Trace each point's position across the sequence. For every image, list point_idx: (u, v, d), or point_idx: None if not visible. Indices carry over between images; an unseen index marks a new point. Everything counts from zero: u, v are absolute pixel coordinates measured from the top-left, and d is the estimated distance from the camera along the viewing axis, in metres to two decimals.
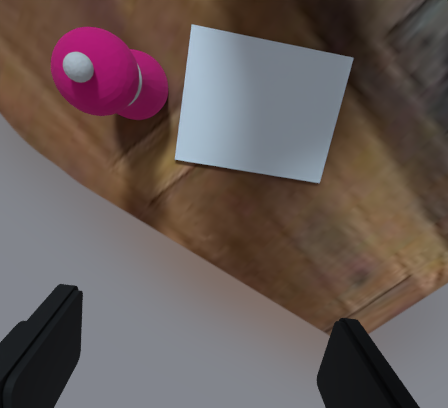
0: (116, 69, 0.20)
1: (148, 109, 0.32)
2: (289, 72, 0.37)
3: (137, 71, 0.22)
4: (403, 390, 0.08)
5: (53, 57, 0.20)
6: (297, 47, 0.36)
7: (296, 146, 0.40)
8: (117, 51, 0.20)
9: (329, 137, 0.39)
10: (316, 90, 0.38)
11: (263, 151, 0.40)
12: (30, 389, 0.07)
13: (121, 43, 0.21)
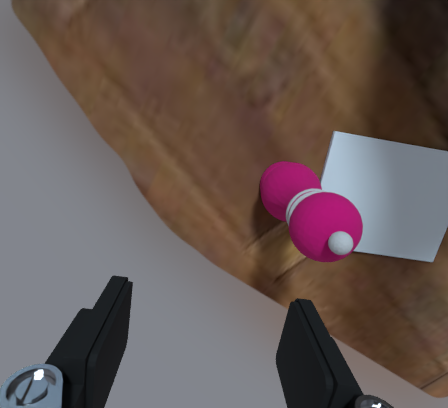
0: (358, 235, 0.24)
1: None
2: (417, 169, 0.40)
3: None
4: (338, 358, 0.09)
5: (306, 226, 0.24)
6: (427, 148, 0.39)
7: (416, 231, 0.43)
8: (359, 220, 0.24)
9: (446, 223, 0.43)
10: (440, 184, 0.41)
11: (385, 235, 0.43)
12: (103, 366, 0.08)
13: (356, 208, 0.24)
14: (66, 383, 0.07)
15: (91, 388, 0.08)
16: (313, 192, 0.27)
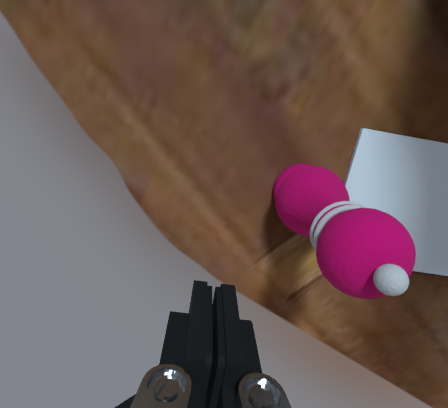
0: (411, 266, 0.18)
1: None
2: None
3: None
4: (237, 338, 0.09)
5: (343, 254, 0.18)
6: None
7: None
8: (413, 247, 0.18)
9: None
10: None
11: (417, 249, 0.37)
12: None
13: None
14: None
15: (205, 386, 0.08)
16: (346, 206, 0.21)
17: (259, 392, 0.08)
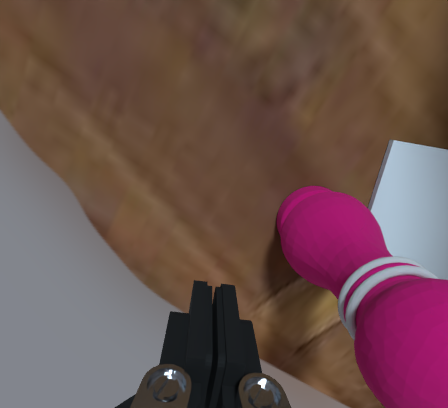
0: None
1: None
2: None
3: None
4: (237, 338, 0.09)
5: (413, 375, 0.10)
6: None
7: None
8: None
9: None
10: None
11: None
12: None
13: None
14: None
15: (205, 386, 0.08)
16: (398, 269, 0.14)
17: (259, 392, 0.08)
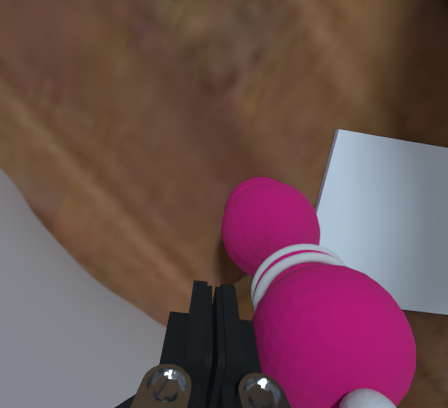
0: (410, 381, 0.10)
1: None
2: None
3: None
4: (237, 338, 0.09)
5: (284, 363, 0.10)
6: None
7: None
8: (412, 346, 0.10)
9: None
10: None
11: (414, 283, 0.29)
12: None
13: (400, 309, 0.11)
14: None
15: (205, 386, 0.08)
16: (302, 256, 0.13)
17: (259, 392, 0.08)
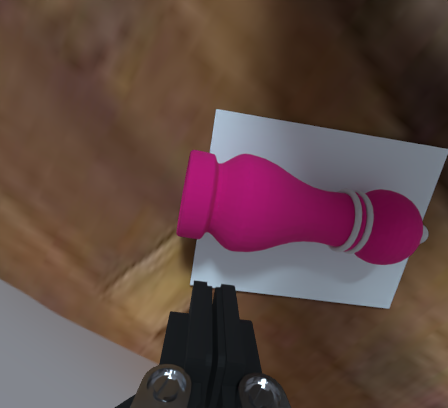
0: None
1: None
2: (356, 170, 0.25)
3: None
4: (237, 338, 0.09)
5: None
6: (369, 137, 0.25)
7: (360, 264, 0.28)
8: None
9: None
10: None
11: (314, 271, 0.28)
12: None
13: None
14: None
15: (205, 386, 0.08)
16: None
17: (259, 392, 0.08)
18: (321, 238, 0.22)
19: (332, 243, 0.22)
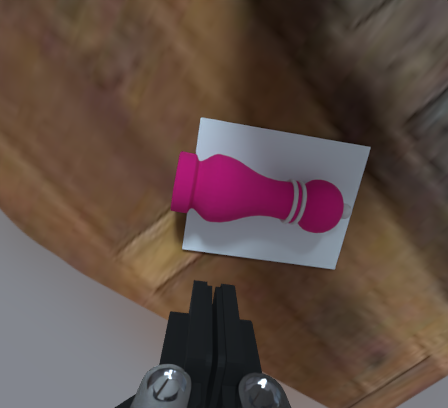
0: None
1: None
2: (303, 162, 0.35)
3: None
4: (237, 338, 0.09)
5: (342, 204, 0.31)
6: (312, 138, 0.34)
7: (310, 234, 0.37)
8: None
9: (345, 225, 0.37)
10: (332, 179, 0.36)
11: (276, 239, 0.37)
12: None
13: None
14: None
15: (205, 386, 0.08)
16: (302, 181, 0.32)
17: (259, 392, 0.08)
18: (270, 214, 0.32)
19: (279, 217, 0.32)
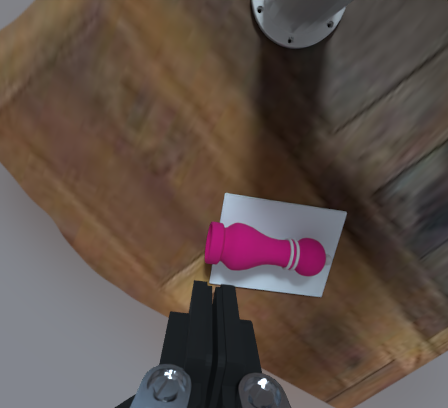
0: None
1: None
2: (298, 223, 0.48)
3: None
4: (237, 338, 0.09)
5: (325, 258, 0.45)
6: (304, 206, 0.48)
7: None
8: None
9: (329, 266, 0.51)
10: (319, 234, 0.49)
11: (278, 276, 0.51)
12: None
13: None
14: None
15: (205, 386, 0.08)
16: (296, 240, 0.46)
17: (259, 392, 0.08)
18: (274, 264, 0.45)
19: (280, 266, 0.46)
